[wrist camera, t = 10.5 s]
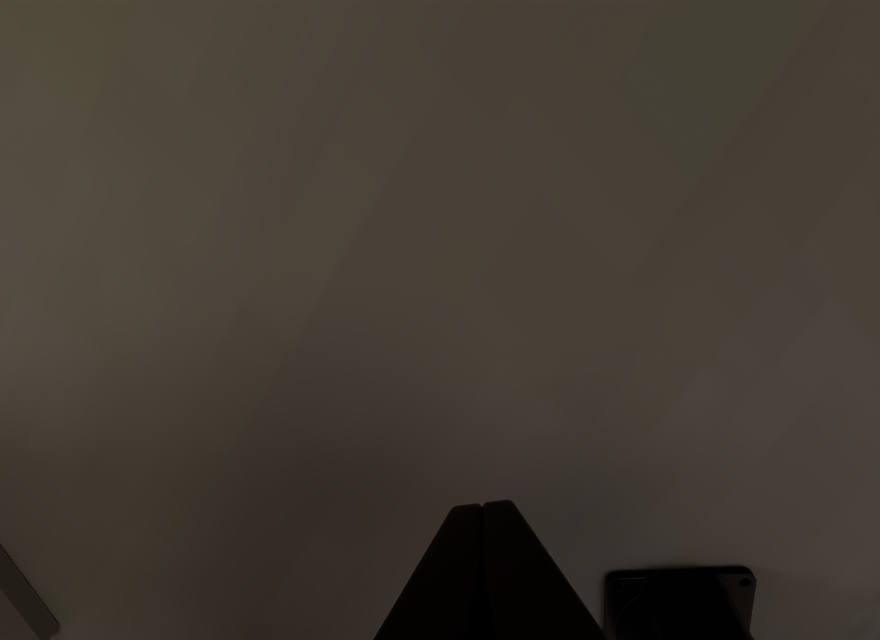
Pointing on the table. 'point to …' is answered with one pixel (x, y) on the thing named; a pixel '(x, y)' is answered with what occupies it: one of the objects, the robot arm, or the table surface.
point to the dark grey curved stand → (21, 607)
